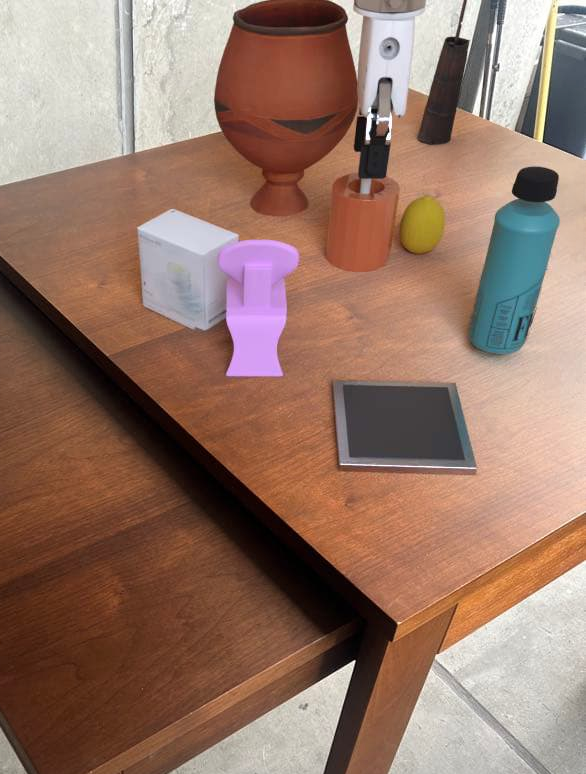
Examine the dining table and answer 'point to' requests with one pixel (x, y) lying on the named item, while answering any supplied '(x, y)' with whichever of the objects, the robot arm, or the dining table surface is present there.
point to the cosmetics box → (184, 268)
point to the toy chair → (256, 302)
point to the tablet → (401, 428)
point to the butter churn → (445, 89)
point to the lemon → (422, 225)
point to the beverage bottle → (515, 263)
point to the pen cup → (361, 223)
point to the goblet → (286, 93)
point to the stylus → (365, 186)
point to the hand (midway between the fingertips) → (369, 162)
